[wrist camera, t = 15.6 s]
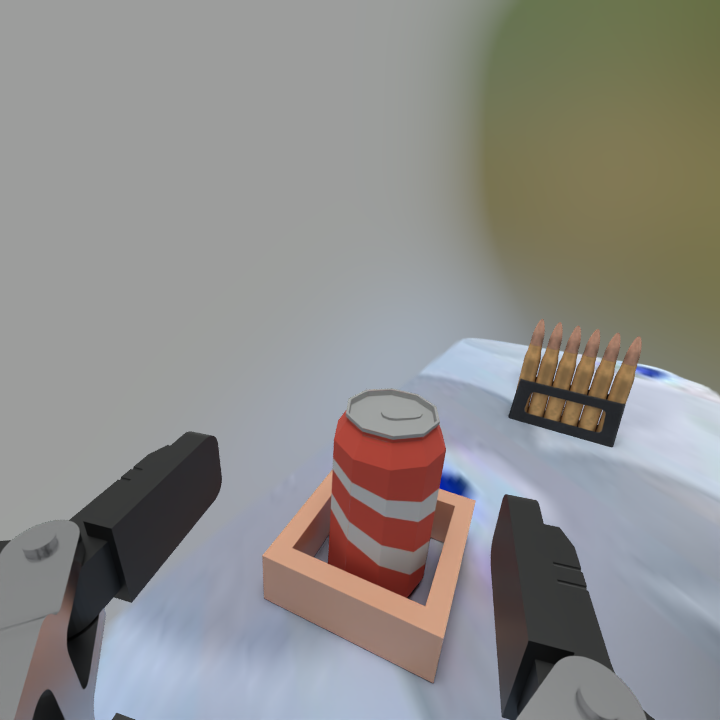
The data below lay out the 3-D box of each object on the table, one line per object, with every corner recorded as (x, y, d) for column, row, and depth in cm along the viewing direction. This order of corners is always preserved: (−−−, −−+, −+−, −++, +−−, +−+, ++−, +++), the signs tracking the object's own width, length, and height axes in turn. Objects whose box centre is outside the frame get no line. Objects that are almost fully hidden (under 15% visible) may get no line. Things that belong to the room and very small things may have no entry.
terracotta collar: (340, 492, 33) (342, 457, 31) (466, 538, 29) (475, 500, 28) (264, 598, 24) (262, 555, 22) (433, 683, 20) (443, 638, 19)
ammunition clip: (508, 417, 46) (531, 319, 42) (510, 411, 48) (533, 315, 43) (612, 447, 42) (652, 341, 37) (611, 439, 43) (649, 336, 39)
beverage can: (438, 600, 24) (472, 435, 20) (336, 621, 23) (348, 447, 18) (403, 525, 30) (424, 382, 25) (319, 538, 28) (325, 387, 24)
